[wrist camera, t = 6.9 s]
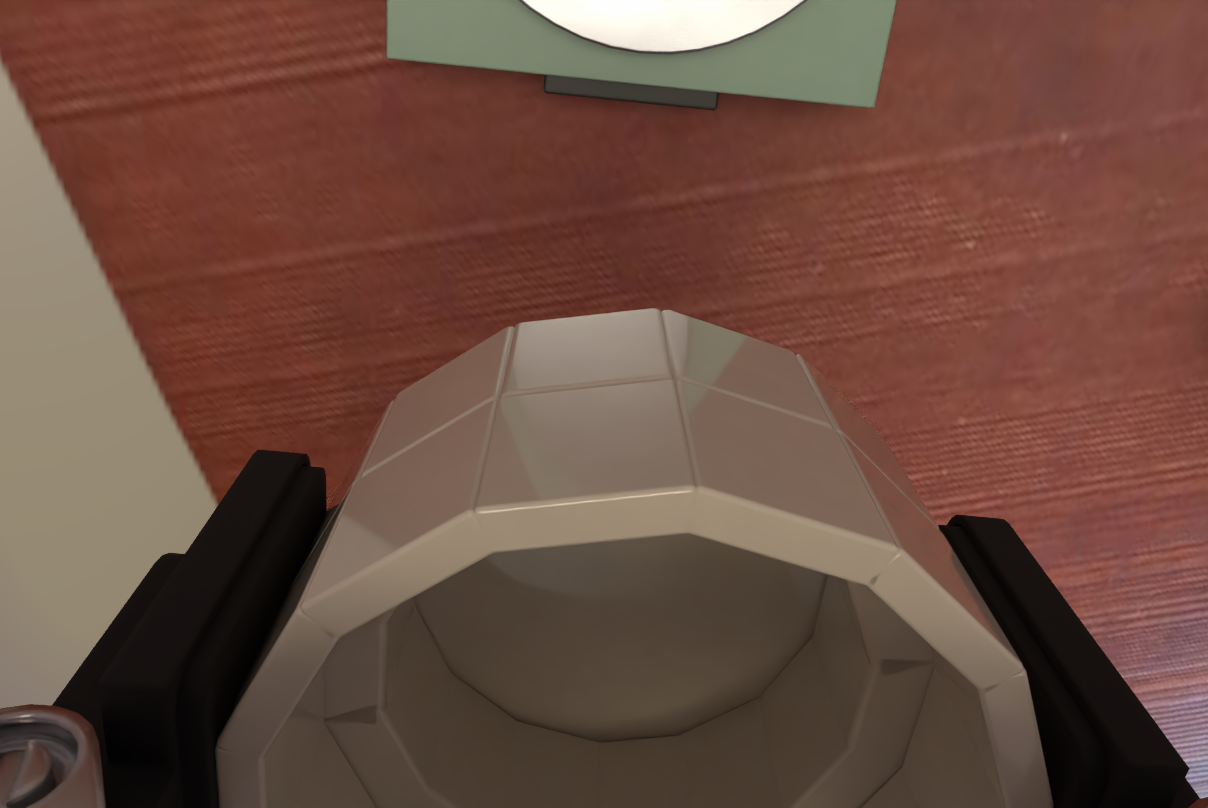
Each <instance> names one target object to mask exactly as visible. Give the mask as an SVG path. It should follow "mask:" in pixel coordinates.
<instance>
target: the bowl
mask: <svg viewBox="0 0 1208 808" xmlns="http://www.w3.org/2000/svg"><path fill="white" fill-rule="evenodd" d="M215 760H216V774H217V787H218V800H219V808H1054V802H1053V797H1052V792H1051V787H1050V782H1049V778H1048V773H1047V768H1046V763H1045V758H1044V753H1043V748H1042V744H1041V739H1040V734H1039V729H1038V724H1037V719H1036V715H1035V710H1034V705H1033V700H1032V695H1031V690H1030V686H1029V681H1028V676H1027V671H1026V670H1025V668H1024V666H1023V665H1022V662H1021V661H1020V659H1019V657H1018V656H1017V654H1016V652H1015V651H1014V649H1013V647H1012V646H1011V644H1010V643H1009V641H1008V639H1007V638H1006V636H1005V634H1004V633H1003V631H1002V629H1001V628H1000V626H999V625H998V623H997V621H996V620H995V618H994V616H993V615H992V613H991V611H990V610H989V608H988V607H987V605H986V603H985V602H984V600H983V598H982V597H981V595H980V593H979V592H978V590H977V589H976V587H975V585H974V584H973V582H972V580H971V579H970V577H969V575H968V574H967V572H966V571H965V569H964V567H963V566H962V564H961V562H960V561H959V559H958V557H957V556H956V554H955V552H954V551H953V549H952V548H951V546H950V544H949V543H948V541H947V539H946V538H945V536H944V534H943V533H942V532H941V531H940V530H939V527H938V525H937V523H936V522H935V520H934V519H933V517H932V515H931V514H930V512H929V510H928V509H927V507H926V505H925V504H924V502H923V501H922V499H921V497H920V496H919V494H918V492H917V491H916V489H915V487H914V486H913V484H912V483H911V481H910V479H909V478H908V476H907V474H906V473H905V471H904V469H903V468H902V466H901V464H900V463H899V461H898V460H897V458H896V456H895V455H894V453H893V451H892V450H891V448H890V446H889V445H888V443H887V442H886V440H885V439H884V438H883V437H882V436H881V435H880V434H879V433H878V432H877V431H876V430H875V429H874V428H873V427H872V426H871V425H870V424H869V423H868V422H867V421H866V420H865V419H864V418H863V417H862V416H861V415H860V414H859V413H858V412H857V411H856V410H855V409H854V408H853V407H852V406H851V405H850V404H849V403H848V402H847V401H846V400H845V399H844V398H843V397H842V395H841V394H840V393H839V392H838V391H837V390H836V389H835V388H834V387H833V386H832V385H831V384H830V383H829V382H828V381H827V380H826V379H825V378H824V377H823V376H822V375H821V374H820V373H819V372H818V371H817V370H816V369H815V368H814V367H813V366H812V365H811V364H810V363H809V362H808V361H807V360H806V359H805V358H804V357H803V356H802V355H799V354H795V353H794V352H793V351H791V350H788V349H785V348H782V347H779V346H776V345H773V344H770V343H767V342H764V341H761V340H758V339H755V338H752V337H749V336H746V335H743V334H740V333H737V332H734V331H731V330H728V329H725V328H722V327H719V326H716V325H713V324H710V323H707V322H704V321H701V320H698V319H695V318H692V317H689V316H686V315H683V314H680V313H677V312H674V311H671V310H663V311H662V312H660V310H658V309H655V308H651V309H642V310H632V311H623V312H614V313H605V314H596V315H587V316H578V317H569V318H560V319H551V320H541V321H532V322H523V323H519V324H517V325H516V326H515V328H514V327H512V326H510V327H506V328H504V329H503V330H501V331H499V332H498V333H496V334H494V335H493V336H491V337H489V338H488V339H486V340H485V341H483V342H481V343H480V344H478V345H476V346H475V347H473V348H471V349H470V350H468V351H467V352H465V353H463V354H462V355H460V356H458V357H457V358H455V359H453V360H452V361H450V362H449V363H447V364H445V365H444V366H442V367H440V368H439V369H437V370H435V371H434V372H432V373H430V374H429V375H427V376H426V377H424V378H422V379H421V380H419V381H417V382H416V383H414V384H412V385H411V386H409V387H408V388H406V389H404V390H403V391H401V392H399V393H398V395H397V396H396V398H395V400H393V401H392V402H390V403H389V404H388V406H387V407H386V409H385V411H384V412H383V414H382V416H381V417H380V419H379V421H378V423H377V424H376V426H375V428H374V429H373V431H372V433H371V434H370V436H369V438H368V439H367V441H366V443H365V445H364V446H363V448H362V450H361V451H360V453H359V455H358V456H357V458H356V460H355V462H354V463H353V465H352V467H351V468H350V470H349V472H348V473H347V475H346V477H345V479H344V480H343V482H342V484H341V485H340V487H339V489H338V490H337V492H336V494H335V496H334V497H333V499H332V501H331V503H330V505H329V508H328V510H327V512H326V514H325V516H324V518H323V520H322V522H321V524H320V526H319V528H318V530H317V533H316V535H315V537H314V539H313V541H312V543H311V545H310V547H309V549H308V551H307V553H306V555H305V558H304V560H303V562H302V564H301V566H300V568H299V570H298V572H297V574H296V576H295V578H294V580H293V583H292V585H291V587H290V590H289V592H288V594H287V595H286V597H285V599H284V601H283V603H282V605H281V607H280V609H279V611H278V613H277V615H276V617H275V619H274V621H273V623H272V625H271V628H270V630H269V632H268V634H267V636H266V638H265V640H264V642H263V644H262V646H261V648H260V650H259V653H258V655H257V657H256V659H255V661H254V663H253V665H252V667H251V669H250V671H249V673H248V675H247V677H246V680H245V682H244V684H243V686H242V688H241V690H240V692H239V694H238V696H237V698H236V700H235V702H234V704H233V707H232V709H231V711H230V713H229V715H228V717H227V719H226V721H225V723H224V725H223V727H222V729H221V732H220V734H219V736H218V738H217V744H216V747H215Z"/></svg>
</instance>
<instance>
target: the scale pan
mask: <svg viewBox="0 0 1208 808" xmlns="http://www.w3.org/2000/svg"><path fill="white" fill-rule="evenodd" d="M519 1H520V2H521V3H522V4H523V5H525V6H526V7H527V8H528V9H529V10H531V11H532V12H534V13H535V14H537V15H539V16H540V17H542V18H543V19H545V20H546V21H548V22H549V23H551V24H552V25H554V26H555V27H557V28H560V29H562V30H564V31H566V32H568V33H570V34H572V35H574V36H576V37H578V38H580V39H583V40H586V41H589V42H592V43H595V44H598V45H601V46H604V47H607V48H611V49H616V50H622V51H628V52H633V53H639V54H665V55H671V54H680V53H690V52H699V51H703V50H707V49H711V48H715V47H719V46H723V45H727V44H730V43H733V42H735V41H738V40H740V39H743V38H745V37H748V36H750V35H753V34H756V33H758V32H759V31H761V30H763V29H765V28H767V27H768V26H770V25H772V24H774V23H776V22H777V21H779V20H781V19H783V18H784V17H786V16H787V15H789V14H790V13H791V12H793V11H794V10H795V9H797V8H798V7H799V6H801V5H802V4H804V3H805V2H806V1H808V0H519Z"/></svg>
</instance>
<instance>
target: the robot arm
mask: <svg viewBox="0 0 1208 808" xmlns="http://www.w3.org/2000/svg"><path fill="white" fill-rule="evenodd" d="M325 514H326V474H325V470H324V468H320V467H311V465H310V460H309V457H308V455H307V454H301V453H290V452H279V451H269V450H257V451H256V452H255V453H254V454H253V455H252V457H251V458H250V460H249V461H248V463H247V464H246V466H245V467H244V468H243V470H242V471H241V473H240V474H239V476H238V477H237V479H236V480H235V482H234V483H233V485H232V486H231V488H230V489H229V490H228V492H227V493H226V495H225V496H224V498H223V499H222V501H221V502H220V504H219V505H218V507H217V508H216V509H215V511H214V513H213V514H212V515H211V517H210V518H209V520H208V521H207V523H206V524H205V526H204V527H203V529H202V530H201V531H200V533H199V534H198V536H197V537H196V539H195V540H194V542H193V543H192V545H191V546H190V548H189V549H188V551H187V552H186V553H185V554H176V553H168V554H165V555H162V556H161V557H160V558H159V559H158V560H157V562H155V564H154V565H153V567H152V568H151V569H150V571H149V572H148V573H147V575H146V576H145V578H144V579H143V580H142V582H141V583H140V585H139V586H138V587H137V589H136V590H135V591H134V593H133V594H132V596H131V597H130V598H129V600H128V601H127V603H126V604H125V605H124V607H123V608H122V609H121V611H120V612H119V614H118V615H117V616H116V618H115V619H114V620H113V622H112V623H111V625H110V626H109V627H108V629H107V630H106V631H105V633H104V634H103V636H102V637H101V638H100V640H99V641H98V643H97V644H96V646H95V647H94V648H93V649H92V651H91V652H90V654H89V655H88V657H87V658H86V659H85V661H84V662H83V663H82V665H81V666H80V667H79V669H78V670H77V672H76V673H75V674H74V676H73V677H72V679H71V680H70V681H69V683H68V684H67V685H66V687H65V688H64V690H63V691H62V692H61V694H60V695H59V697H58V698H57V699H56V701H55V702H54V703H53V705H52V706H47V705H33V704H30V705H23V706H15V707H8V708H1V709H0V808H219V800H218V787H217V774H216V760H215V747H216V744H217V738H218V736H219V734H220V732H221V729H222V727H223V725H224V723H225V721H226V719H227V717H228V715H229V713H230V711H231V709H232V707H233V704H234V702H235V700H236V698H237V696H238V694H239V692H240V690H241V688H242V686H243V684H244V682H245V680H246V677H247V675H248V673H249V671H250V669H251V667H252V665H253V663H254V661H255V659H256V657H257V655H258V653H259V650H260V648H261V646H262V644H263V642H264V640H265V638H266V636H267V634H268V632H269V630H270V628H271V625H272V623H273V621H274V619H275V617H276V615H277V613H278V611H279V609H280V607H281V605H282V603H283V601H284V599H285V597H286V595H287V594H288V592H289V590H290V587H291V585H292V583H293V580H294V578H295V576H296V574H297V572H298V570H299V568H300V566H301V564H302V562H303V560H304V558H305V555H306V553H307V551H308V549H309V547H310V545H311V543H312V541H313V539H314V537H315V535H316V533H317V530H318V528H319V526H320V524H321V522H322V520H323V518H324V516H325ZM938 527H939V530H940V531H941V532H942V533H943V534H944V536H945V538H946V539H947V541H948V543H949V544H950V546H951V548H952V549H953V551H954V552H955V554H956V556H957V557H958V559H959V561H960V562H961V564H962V566H963V567H964V569H965V571H966V572H967V574H968V575H969V577H970V579H971V580H972V582H973V584H974V585H975V587H976V589H977V590H978V592H979V593H980V595H981V597H982V598H983V600H984V602H985V603H986V605H987V607H988V608H989V610H990V611H991V613H992V615H993V616H994V618H995V620H996V621H997V623H998V625H999V626H1000V628H1001V629H1002V631H1003V633H1004V634H1005V636H1006V638H1007V639H1008V641H1009V643H1010V644H1011V646H1012V647H1013V649H1014V651H1015V652H1016V654H1017V656H1018V657H1019V659H1020V661H1021V662H1022V665H1023V666H1024V668H1025V670H1026V671H1027V676H1028V681H1029V686H1030V690H1031V695H1032V700H1033V705H1034V710H1035V715H1036V719H1037V724H1038V729H1039V734H1040V739H1041V744H1042V748H1043V753H1044V758H1045V763H1046V768H1047V773H1048V778H1049V782H1050V787H1051V792H1052V797H1053V802H1054V808H1208V797H1207V798H1202V799H1200V798H1199V797H1198V795H1197V794H1196V792H1195V791H1194V790H1193V788H1192V787H1191V785H1190V784H1189V783H1188V781H1187V780H1186V779H1185V776H1186V774H1187V772H1188V770H1189V768H1188V766H1187V765H1186V763H1185V762H1184V761H1183V759H1182V758H1181V757H1180V755H1179V754H1178V753H1177V751H1176V750H1175V748H1174V747H1173V746H1172V744H1171V743H1170V742H1169V740H1168V739H1167V738H1166V736H1165V735H1164V734H1163V732H1162V731H1161V729H1160V728H1159V727H1158V725H1157V724H1156V723H1155V721H1154V720H1153V719H1152V717H1151V716H1150V715H1149V713H1148V712H1147V710H1146V709H1145V708H1144V706H1143V705H1142V704H1141V702H1140V701H1139V700H1138V698H1137V697H1136V696H1135V694H1134V693H1133V691H1132V690H1131V689H1130V687H1129V686H1128V685H1127V683H1126V682H1125V681H1124V679H1123V678H1122V676H1121V675H1120V674H1119V672H1118V671H1117V670H1116V668H1115V667H1114V666H1113V664H1112V663H1111V662H1110V660H1109V659H1108V657H1107V656H1106V655H1105V653H1104V652H1103V651H1102V649H1101V648H1100V647H1099V645H1098V644H1097V643H1096V641H1095V640H1094V638H1093V637H1092V636H1091V634H1090V633H1089V632H1088V630H1087V629H1086V628H1085V626H1084V625H1083V624H1082V622H1081V621H1080V619H1079V618H1078V617H1077V615H1076V614H1075V613H1074V611H1073V610H1072V609H1071V607H1070V606H1069V604H1068V603H1067V602H1066V600H1065V599H1064V598H1063V596H1062V595H1061V594H1060V592H1059V591H1058V590H1057V588H1056V587H1055V585H1054V584H1053V583H1052V581H1051V580H1050V579H1049V577H1048V576H1047V575H1046V573H1045V572H1044V571H1043V569H1042V568H1041V566H1040V565H1039V564H1038V562H1037V561H1036V560H1035V558H1034V557H1033V556H1032V554H1031V553H1030V552H1029V550H1028V549H1027V547H1026V546H1025V545H1024V543H1023V542H1022V541H1021V539H1020V538H1019V537H1018V535H1017V534H1016V532H1015V531H1014V530H1013V528H1012V527H1011V526H1010V524H1009V523H1008V522H1007V521H1005V520H1004V519H997V518H987V517H976V516H965V515H956V516H954V517H952V518H951V520H950V521H949V522H948V525H939V526H938Z"/></svg>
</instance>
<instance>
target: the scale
mask: <svg viewBox="0 0 1208 808" xmlns="http://www.w3.org/2000/svg"><path fill="white" fill-rule="evenodd" d="M896 2H897V0H808V1H806V2H805V3H804V4H802V5H801V6H799V7H798V8H797V9H795V10H794V11H793V12H791V13H790V14H789V15H787V16H786V17H784V18H783V19H781V20H779V21H777V22H776V23H774V24H772V25H770V26H768V27H767V28H765V29H763V30H761V31H759V32H758V33H756V34H753V35H750V36H748V37H745V38H743V39H740V40H738V41H735V42H733V43H730V44H727V45H723V46H719V47H715V48H711V49H707V50H703V51H699V52H690V53H680V54H671V55H665V54H639V53H633V52H628V51H622V50H616V49H611V48H607V47H604V46H601V45H598V44H595V43H592V42H589V41H586V40H583V39H580V38H578V37H576V36H574V35H572V34H570V33H568V32H566V31H564V30H562V29H560V28H557V27H555V26H554V25H552V24H551V23H549V22H548V21H546V20H545V19H543V18H542V17H540V16H539V15H537V14H535V13H534V12H532V11H531V10H529V9H528V8H527V7H526V6H525V5H523V4H522V3H521V2H520V1H519V0H387V55H386V56H387V58H388V59H395V60H405V61H415V62H425V63H434V64H444V65H454V66H464V67H474V68H483V69H493V70H503V71H513V72H522V73H532V74H542V75H545V78H544V92H545V93H549V94H559V95H569V96H579V97H589V98H599V99H608V100H618V101H628V102H638V103H648V104H658V105H668V106H677V107H687V108H697V109H707V110H716V108H717V104H718V97H719V93H727V94H737V95H747V96H756V97H766V98H776V99H786V100H796V101H805V102H815V103H825V104H835V105H844V106H854V107H864V108H874V106H875V102H876V97H877V92H878V88H879V83H880V78H881V73H882V69H883V64H884V59H885V54H886V49H887V45H888V40H889V35H890V30H891V25H892V21H893V16H894V11H895V6H896Z"/></svg>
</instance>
